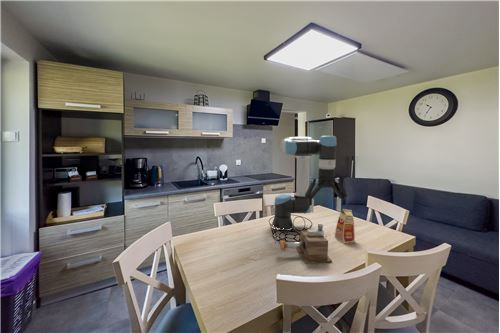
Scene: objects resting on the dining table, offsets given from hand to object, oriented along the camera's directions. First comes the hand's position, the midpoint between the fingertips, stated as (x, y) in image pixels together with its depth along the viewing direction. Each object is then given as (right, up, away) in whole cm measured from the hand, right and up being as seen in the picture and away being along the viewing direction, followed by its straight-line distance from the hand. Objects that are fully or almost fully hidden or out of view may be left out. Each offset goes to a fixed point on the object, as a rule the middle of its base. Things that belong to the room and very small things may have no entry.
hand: (325, 211), depth 106 cm
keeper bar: (-2, -15, +10) cm, 17 cm away
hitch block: (-3, -26, +11) cm, 28 cm away
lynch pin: (-13, -22, +10) cm, 28 cm away
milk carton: (+23, -24, +30) cm, 45 cm away
